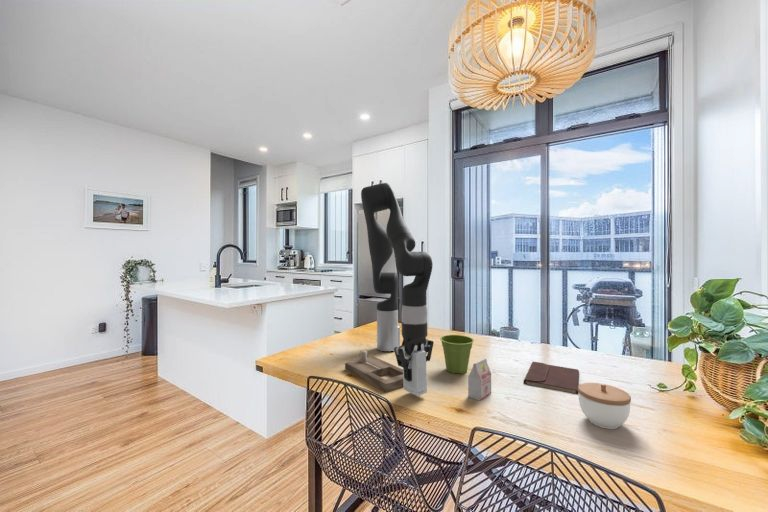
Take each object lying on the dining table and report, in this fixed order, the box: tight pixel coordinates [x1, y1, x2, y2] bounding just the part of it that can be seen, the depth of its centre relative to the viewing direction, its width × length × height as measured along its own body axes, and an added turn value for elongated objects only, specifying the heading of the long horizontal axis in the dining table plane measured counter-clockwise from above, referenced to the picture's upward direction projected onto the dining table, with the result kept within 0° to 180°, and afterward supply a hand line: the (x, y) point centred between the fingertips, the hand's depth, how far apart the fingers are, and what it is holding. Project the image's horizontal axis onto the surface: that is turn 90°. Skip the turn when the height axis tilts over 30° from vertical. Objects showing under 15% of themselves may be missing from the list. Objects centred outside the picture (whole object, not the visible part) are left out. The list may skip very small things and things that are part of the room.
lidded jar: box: [578, 382, 632, 430], centre depth 79 cm, size 11×11×9 cm
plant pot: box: [439, 334, 475, 374], centre depth 115 cm, size 12×12×11 cm
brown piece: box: [344, 350, 403, 393], centre depth 110 cm, size 12×24×6 cm, turn 37°
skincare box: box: [402, 350, 428, 397], centre depth 94 cm, size 6×4×12 cm
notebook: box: [523, 361, 580, 395], centre depth 108 cm, size 15×20×2 cm
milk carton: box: [467, 358, 492, 401], centre depth 95 cm, size 4×7×10 cm, turn 135°
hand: (414, 378), depth 94 cm, fingers closed on skincare box, 4 cm apart
